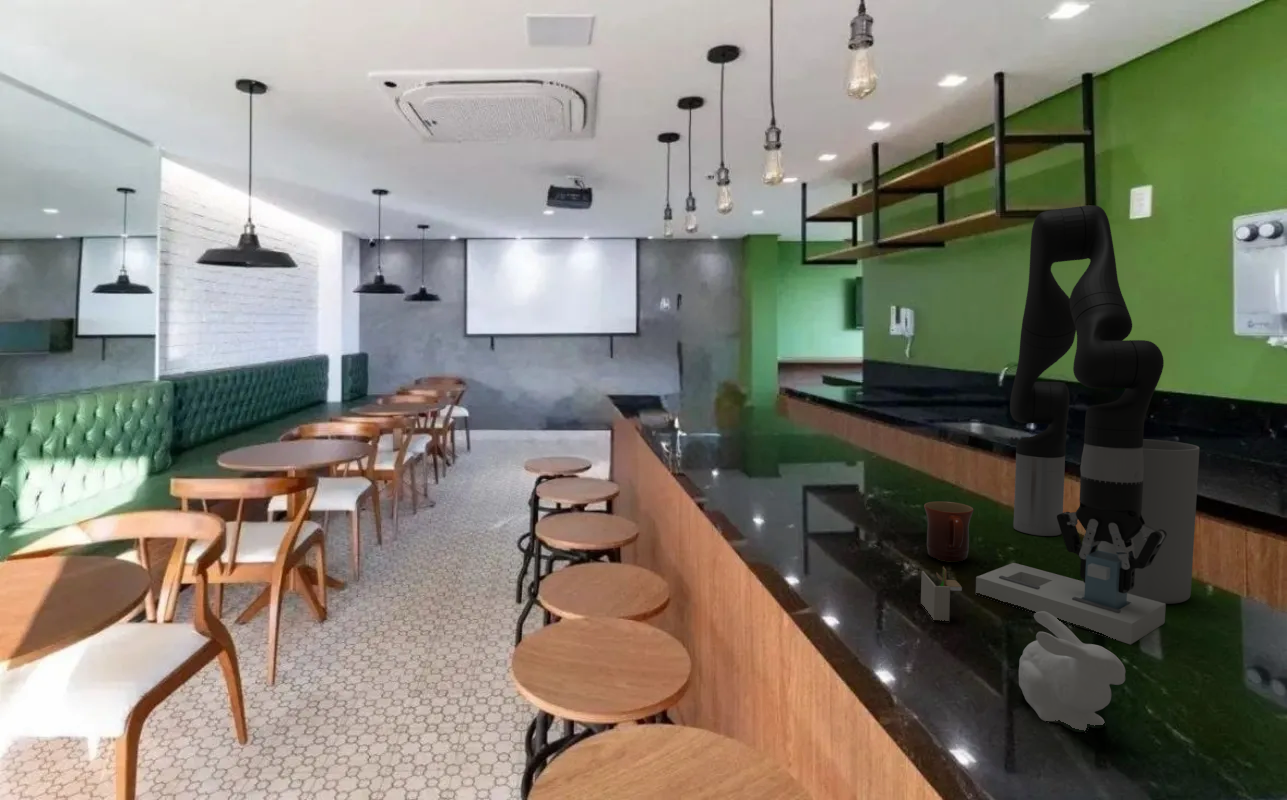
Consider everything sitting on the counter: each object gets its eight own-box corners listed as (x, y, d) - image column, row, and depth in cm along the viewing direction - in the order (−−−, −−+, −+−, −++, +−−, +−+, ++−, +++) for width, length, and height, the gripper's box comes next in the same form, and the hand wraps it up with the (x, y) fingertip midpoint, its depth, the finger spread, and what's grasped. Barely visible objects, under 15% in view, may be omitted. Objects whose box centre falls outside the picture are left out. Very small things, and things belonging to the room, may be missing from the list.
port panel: (1013, 579, 114) (1013, 561, 113) (1164, 623, 95) (1165, 601, 95) (975, 594, 107) (976, 575, 107) (1130, 644, 89) (1131, 621, 88)
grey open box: (946, 607, 103) (947, 559, 102) (961, 625, 96) (962, 574, 96) (920, 606, 104) (921, 558, 103) (933, 624, 97) (935, 573, 96)
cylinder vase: (1169, 581, 111) (1178, 440, 109) (1205, 609, 100) (1215, 451, 97) (1086, 574, 115) (1092, 437, 113) (1111, 600, 104) (1118, 448, 102)
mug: (918, 549, 130) (919, 500, 129) (964, 551, 129) (966, 502, 128) (932, 570, 119) (934, 516, 118) (983, 572, 117) (985, 518, 116)
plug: (1095, 606, 99) (1098, 550, 98) (1125, 615, 96) (1128, 557, 95) (1079, 615, 96) (1081, 557, 95) (1110, 624, 93) (1112, 564, 92)
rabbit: (1133, 742, 67) (1139, 632, 66) (1048, 746, 67) (1053, 636, 66) (1053, 681, 79) (1057, 588, 78) (981, 685, 79) (984, 591, 78)
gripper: (1180, 479, 91) (1173, 596, 92) (1070, 465, 103) (1066, 568, 104) (1159, 487, 87) (1153, 609, 88) (1047, 470, 99) (1043, 578, 100)
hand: (1105, 586), depth 96 cm, fingers closed on plug, 4 cm apart
